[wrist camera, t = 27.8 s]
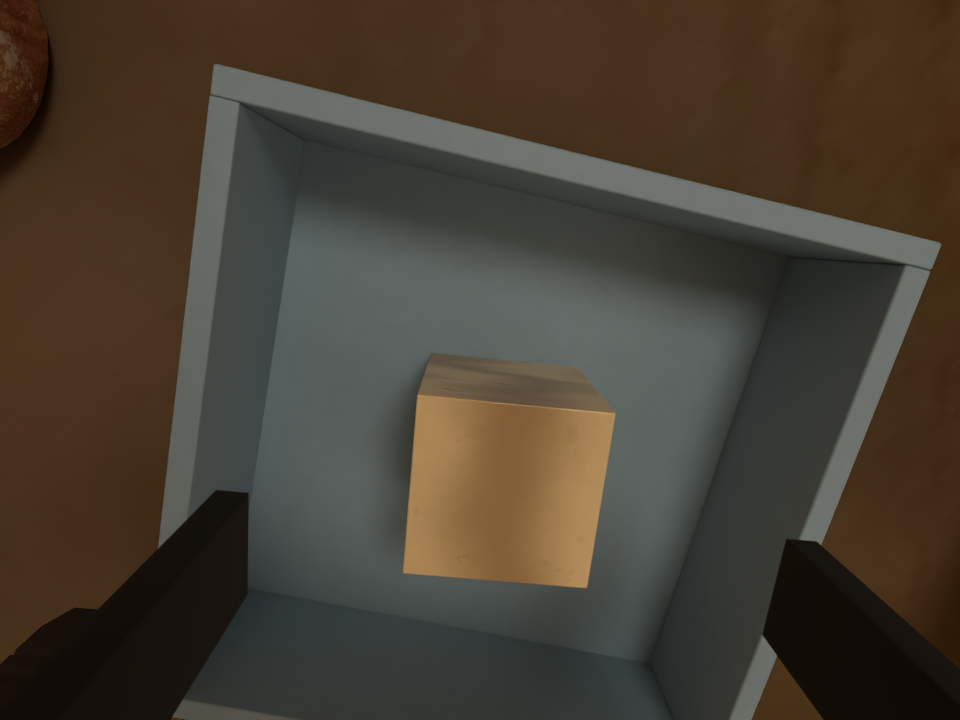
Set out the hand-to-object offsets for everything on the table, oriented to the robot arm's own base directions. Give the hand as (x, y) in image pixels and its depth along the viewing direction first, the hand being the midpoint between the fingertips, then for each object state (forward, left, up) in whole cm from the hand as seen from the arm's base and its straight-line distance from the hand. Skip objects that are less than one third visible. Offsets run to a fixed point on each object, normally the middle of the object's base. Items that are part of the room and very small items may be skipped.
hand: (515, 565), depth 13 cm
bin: (0, 0, -10) cm, 10 cm away
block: (0, 0, -10) cm, 10 cm away
